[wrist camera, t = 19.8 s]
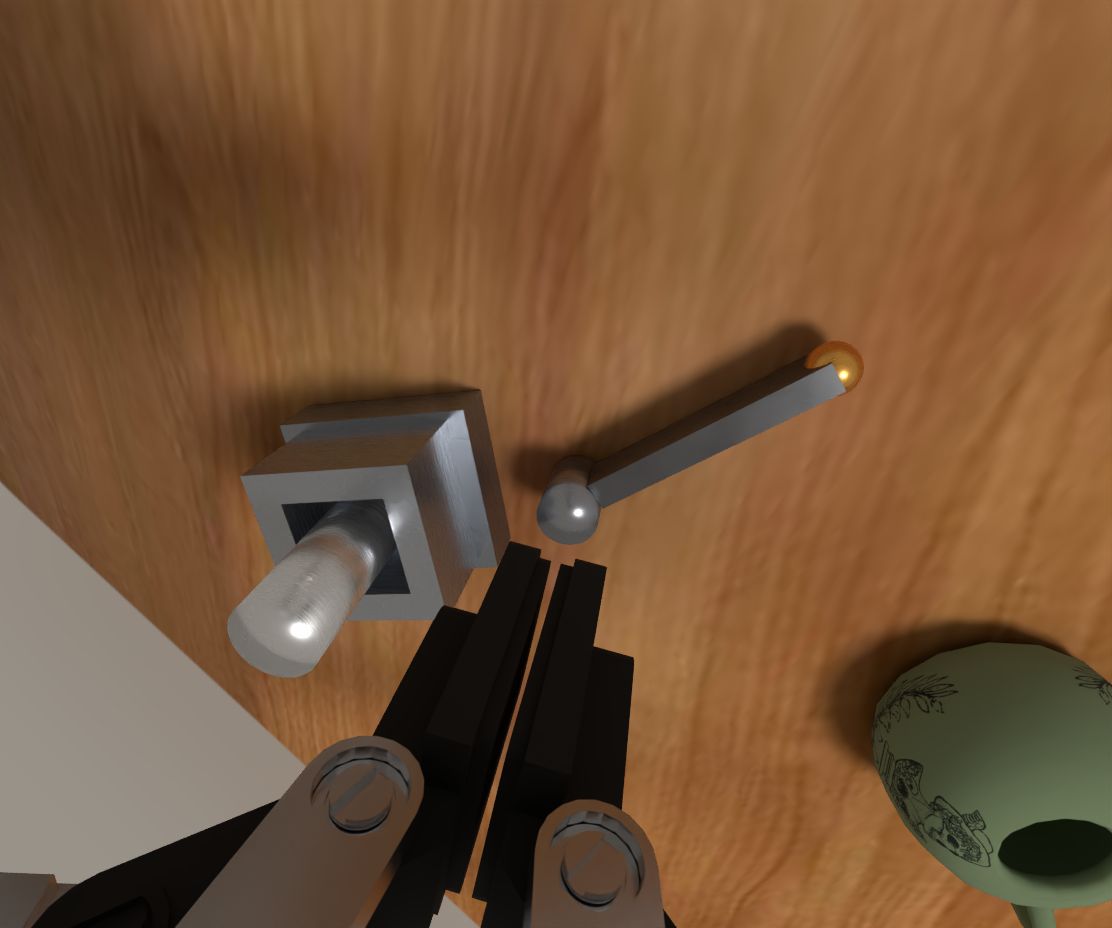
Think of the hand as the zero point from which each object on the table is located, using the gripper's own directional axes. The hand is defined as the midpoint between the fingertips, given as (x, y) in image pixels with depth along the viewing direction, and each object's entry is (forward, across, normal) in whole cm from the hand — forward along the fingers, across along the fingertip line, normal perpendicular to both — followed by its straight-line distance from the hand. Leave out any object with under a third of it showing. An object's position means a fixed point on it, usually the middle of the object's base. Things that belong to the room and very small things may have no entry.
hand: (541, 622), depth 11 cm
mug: (+22, -26, +18) cm, 39 cm away
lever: (+22, -4, +4) cm, 23 cm away
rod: (+19, +10, +11) cm, 24 cm away
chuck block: (+22, +10, +11) cm, 27 cm away
